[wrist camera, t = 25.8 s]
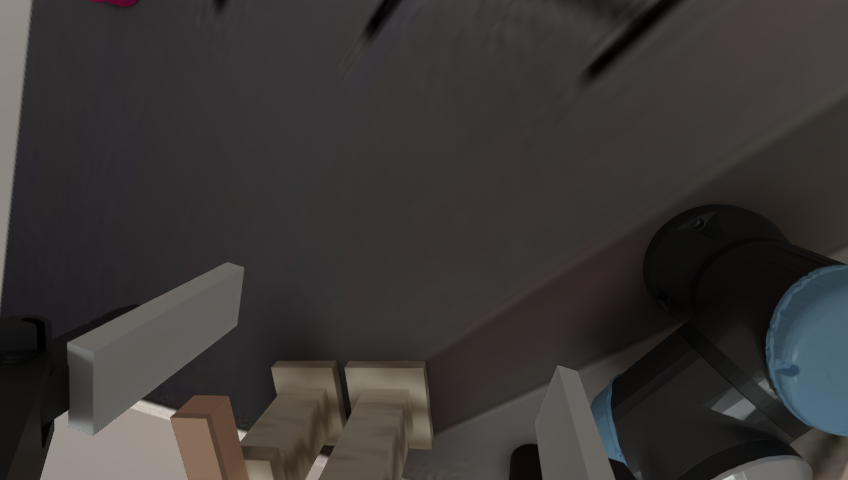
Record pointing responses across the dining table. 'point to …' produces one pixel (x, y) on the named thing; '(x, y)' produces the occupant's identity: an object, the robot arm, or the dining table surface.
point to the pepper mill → (118, 2)
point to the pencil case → (209, 439)
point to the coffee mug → (525, 463)
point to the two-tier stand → (341, 421)
